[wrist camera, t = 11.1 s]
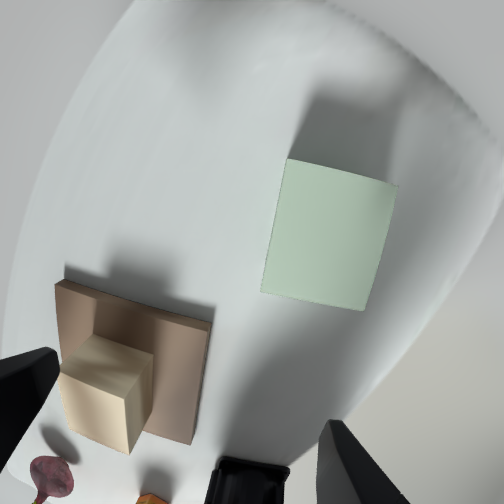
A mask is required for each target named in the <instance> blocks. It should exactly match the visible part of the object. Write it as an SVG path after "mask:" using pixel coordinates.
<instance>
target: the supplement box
mask: <svg viewBox="0 0 504 504" xmlns="http://www.w3.org/2000/svg"><path fill="white" fill-rule="evenodd" d="M136 504H168V503H166V502H165V501H163V500H161V499H160V498H158V497H156V496H155V495H153V494H148V495H144V496H140V497H139V498H138V500H137V502H136Z"/></svg>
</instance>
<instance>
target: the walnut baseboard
mask: <svg viewBox="0 0 504 504" xmlns="http://www.w3.org/2000/svg"><path fill="white" fill-rule="evenodd" d="M55 300H56V314H57V324H58V334H59V342H60V349H61V357H62V363H63V362H64V361H65V360H66V359H67V358H68V357H69V356H70V355H71V354H72V353H73V352H74V351H75V350H76V349H77V348H78V347H79V346H80V345H81V344H82V343H83V342H85V341H86V340H87V339H88V338H89V337H90V336H91V335H92V334H95V335H97V336H100V337H103V338H105V339H108V340H111V341H114V342H117V343H119V344H122V345H125V346H128V347H131V348H134V349H137V350H140V351H143V352H147V353H150V354H153V355H154V356H153V382H152V413H151V415H150V417H149V419H148V421H147V422H146V424H145V426H144V428H143V430H142V431H145V432H148V433H151V434H154V435H157V436H160V437H163V438H167V439H170V440H173V441H176V442H180V443H183V444H187V445H191V443H192V440H193V437H194V432H195V425H196V418H197V411H198V404H199V398H200V391H201V385H202V378H203V372H204V366H205V360H206V353H207V347H208V341H209V335H210V329H211V323H209V322H205V321H201V320H197V319H193V318H190V317H186V316H182V315H178V314H175V313H171V312H167V311H164V310H160V309H157V308H153V307H150V306H146V305H143V304H139V303H136V302H133V301H129V300H126V299H123V298H119V297H116V296H113V295H110V294H107V293H104V292H101V291H97V290H94V289H91V288H88V287H85V286H82V285H79V284H76V283H74V282H71V281H68V280H65V279H63V280H61V281H59V282H58V283H56V284H55Z"/></svg>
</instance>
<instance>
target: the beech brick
mask: <svg viewBox="0 0 504 504" xmlns="http://www.w3.org/2000/svg"><path fill="white" fill-rule="evenodd" d="M153 356H154V355H153V354H150V353H147V352H143V351H140V350H137V349H134V348H131V347H128V346H125V345H122V344H119V343H117V342H114V341H111V340H108V339H105V338H103V337H100V336H97V335H95V334H92V335H91V336H90V337H89V338H88V339H87V340H86V341H85V342H83V343H82V344H81V345H80V346H79V347H78V348H77V349H76V350H75V351H74V352H73V353H72V354H71V355H70V356H69V357H68V358H67V359H66V360H65V361H64V362H63V363H62V364H61V365H60V374H59V376H58V378H57V380H58V385H59V390H60V394H61V399H62V403H63V407H64V411H65V415H66V419H67V422H68V426H69V429H70V430H72V431H74V432H76V433H78V434H80V435H82V436H85V437H87V438H89V439H91V440H93V441H96V442H98V443H100V444H102V445H105V446H107V447H109V448H112V449H114V450H117V451H119V452H122V453H124V454H127V455H130V453H131V451H132V449H133V448H134V446H135V444H136V442H137V440H138V438H139V436H140V434H141V432H142V430H143V428H144V426H145V424H146V422H147V421H148V419H149V417H150V415H151V413H152V382H153Z"/></svg>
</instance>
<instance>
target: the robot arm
mask: <svg viewBox="0 0 504 504" xmlns="http://www.w3.org/2000/svg"><path fill="white" fill-rule="evenodd" d="M59 374H60V365H59V360H58V355H57V352H56V351H55V350H54V349H51V348H49V347H43V348H39V349H36V350H33V351H29V352H26V353H22V354H19V355H15V356H12V357H8V358H5V359H1V360H0V473H1V471H2V470H3V468H4V466H5V465H6V463H7V461H8V460H9V458H10V456H11V455H12V453H13V451H14V450H15V448H16V447H17V445H18V443H19V442H20V440H21V439H22V437H23V435H24V434H25V432H26V431H27V429H28V428H29V426H30V425H31V423H32V422H33V420H34V419H35V417H36V415H37V414H38V413H39V411H40V409H41V408H42V406H43V404H44V403H45V401H46V399H47V397H48V395H49V393H50V391H51V389H52V388H53V386H54V384H55V382H56V380H57V378H58V376H59ZM289 474H290V468H288V467H282V466H275V465H268V464H261V463H255V462H250V461H244V460H239V459H234V458H229V457H222V458H221V460H220V463H219V467H218V470H216V469H215V470H213V471H212V475H211V479H210V483H209V487H208V490H207V494H206V498H205V502H204V504H284V484H285V481H286V479H287V478H288V476H289ZM316 491H317V504H410V503H409V502H408V500H407V499H406V498H405V497H404V496H403V494H400V493H401V492H400V491H399V490H398V489H397V488H396V486H395V485H394V484H393V483H392V482H391V480H390V479H389V478H388V477H387V476H386V474H385V473H384V472H383V471H382V469H381V468H380V467H379V466H378V465H377V463H376V462H375V461H374V460H373V459H372V457H371V456H370V455H369V454H368V452H367V451H366V450H365V449H364V447H363V446H362V445H361V444H360V443H359V441H358V440H357V439H356V438H355V436H354V435H353V434H352V433H351V431H350V430H349V429H348V428H347V426H346V425H345V424H344V423H343V421H341V420H333V419H330V420H328V421H327V423H326V425H325V427H324V429H323V431H322V433H321V435H320V438H319V445H318V461H317V476H316Z"/></svg>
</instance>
